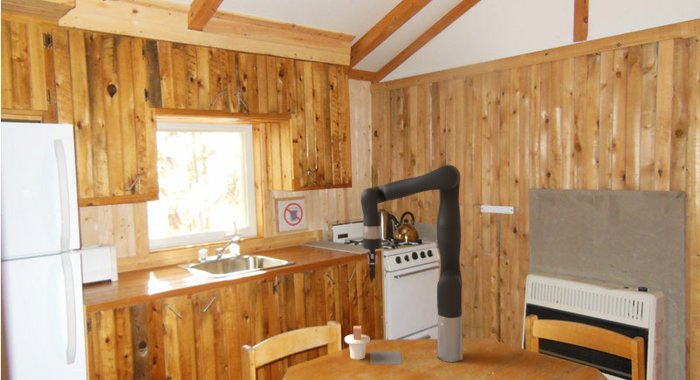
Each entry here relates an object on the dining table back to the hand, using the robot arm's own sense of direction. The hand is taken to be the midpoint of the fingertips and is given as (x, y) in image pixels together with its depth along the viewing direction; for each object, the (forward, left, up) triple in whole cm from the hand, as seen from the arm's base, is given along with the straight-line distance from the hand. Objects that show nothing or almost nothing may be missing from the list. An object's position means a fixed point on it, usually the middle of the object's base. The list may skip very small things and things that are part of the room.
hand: (372, 275), depth 207 cm
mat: (-5, +12, -30) cm, 33 cm away
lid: (+6, +11, -23) cm, 26 cm away
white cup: (+6, +11, -30) cm, 33 cm away
